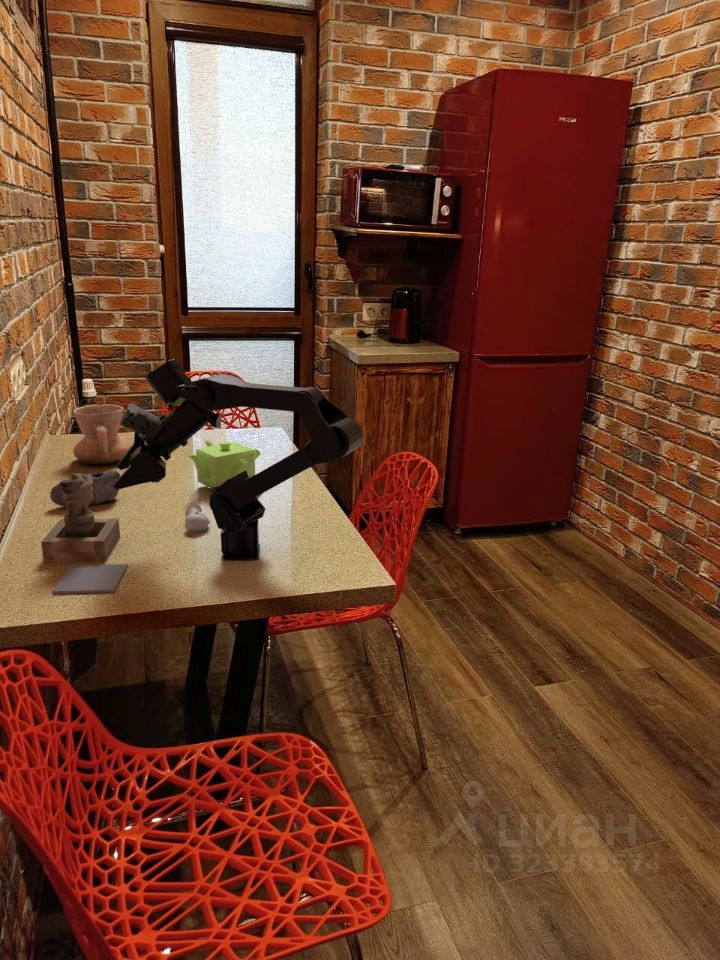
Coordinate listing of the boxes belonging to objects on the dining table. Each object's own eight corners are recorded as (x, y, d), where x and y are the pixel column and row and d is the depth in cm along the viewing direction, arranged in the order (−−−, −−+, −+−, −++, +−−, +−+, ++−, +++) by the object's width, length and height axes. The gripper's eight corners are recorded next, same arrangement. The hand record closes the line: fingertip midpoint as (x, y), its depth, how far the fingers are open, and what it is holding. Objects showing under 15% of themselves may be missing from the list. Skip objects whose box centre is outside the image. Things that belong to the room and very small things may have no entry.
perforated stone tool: (52, 512, 150) (48, 482, 147) (51, 504, 154) (47, 475, 152) (124, 503, 156) (122, 474, 154) (121, 496, 160) (119, 467, 158)
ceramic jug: (75, 453, 191) (70, 403, 187) (130, 450, 196) (126, 400, 192) (73, 473, 175) (66, 418, 171) (133, 468, 180) (128, 415, 175)
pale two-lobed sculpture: (207, 538, 141) (182, 533, 140) (206, 523, 148) (182, 518, 147) (213, 519, 140) (187, 514, 138) (212, 505, 147) (188, 499, 146)
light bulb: (89, 541, 136) (81, 467, 131) (105, 548, 132) (97, 473, 128) (62, 549, 131) (52, 474, 127) (77, 558, 128) (68, 481, 123)
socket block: (120, 537, 138) (118, 518, 136) (106, 561, 127) (103, 541, 126) (62, 538, 137) (60, 519, 135) (43, 562, 126) (41, 541, 125)
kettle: (187, 496, 161) (184, 449, 158) (202, 477, 175) (200, 434, 171) (251, 498, 161) (250, 451, 157) (261, 479, 174) (260, 436, 171)
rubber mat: (128, 566, 125) (127, 564, 125) (114, 592, 116) (114, 589, 116) (70, 567, 124) (70, 564, 124) (52, 593, 115) (52, 591, 115)
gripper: (151, 378, 132) (89, 430, 133) (147, 408, 115) (76, 466, 116) (191, 420, 137) (131, 469, 138) (193, 454, 120) (125, 510, 121)
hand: (116, 477), depth 128 cm, fingers open, 9 cm apart
